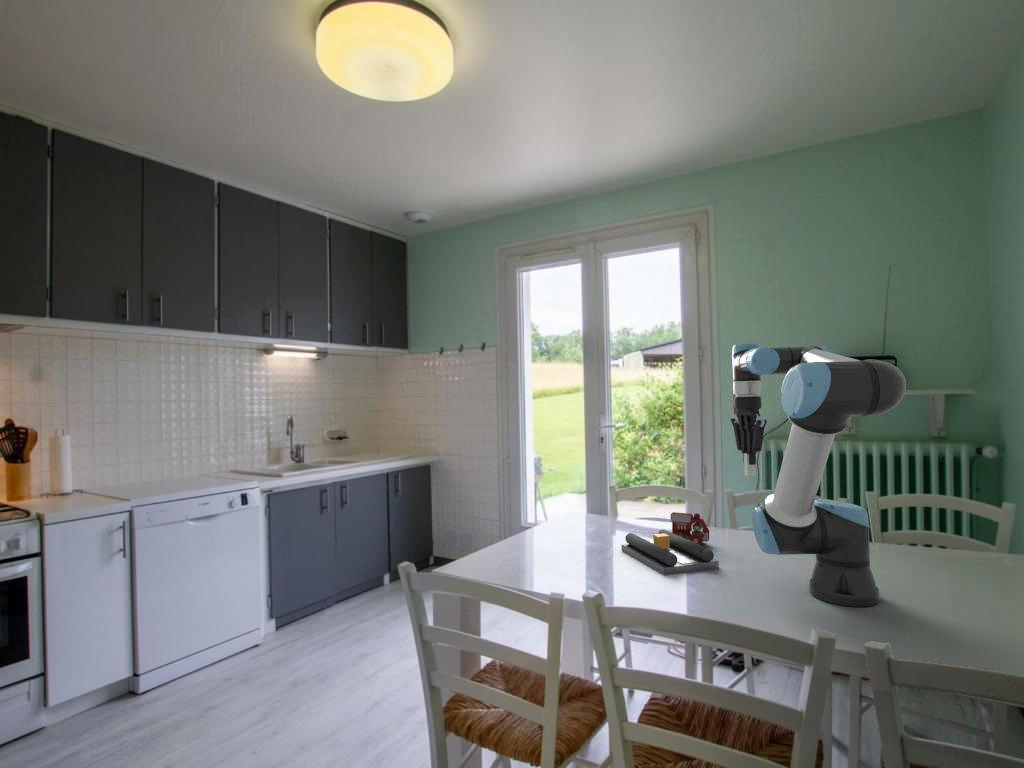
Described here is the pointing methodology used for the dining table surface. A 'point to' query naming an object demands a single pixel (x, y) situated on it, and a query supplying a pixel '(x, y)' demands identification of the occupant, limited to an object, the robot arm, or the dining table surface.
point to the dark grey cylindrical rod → (689, 546)
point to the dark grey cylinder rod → (652, 549)
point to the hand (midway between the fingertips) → (749, 475)
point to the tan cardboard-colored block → (662, 540)
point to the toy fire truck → (689, 527)
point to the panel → (684, 564)
